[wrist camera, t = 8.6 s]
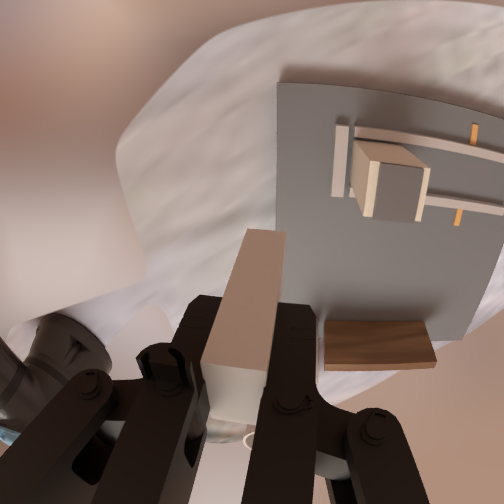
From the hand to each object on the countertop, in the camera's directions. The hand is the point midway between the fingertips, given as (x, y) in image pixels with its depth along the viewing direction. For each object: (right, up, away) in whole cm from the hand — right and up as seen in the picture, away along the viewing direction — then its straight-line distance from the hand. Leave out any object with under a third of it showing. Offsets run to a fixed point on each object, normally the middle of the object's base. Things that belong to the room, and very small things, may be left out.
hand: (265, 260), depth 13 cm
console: (+14, +2, +16) cm, 21 cm away
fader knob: (+9, +7, +11) cm, 16 cm away
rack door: (+13, -8, +19) cm, 25 cm away
